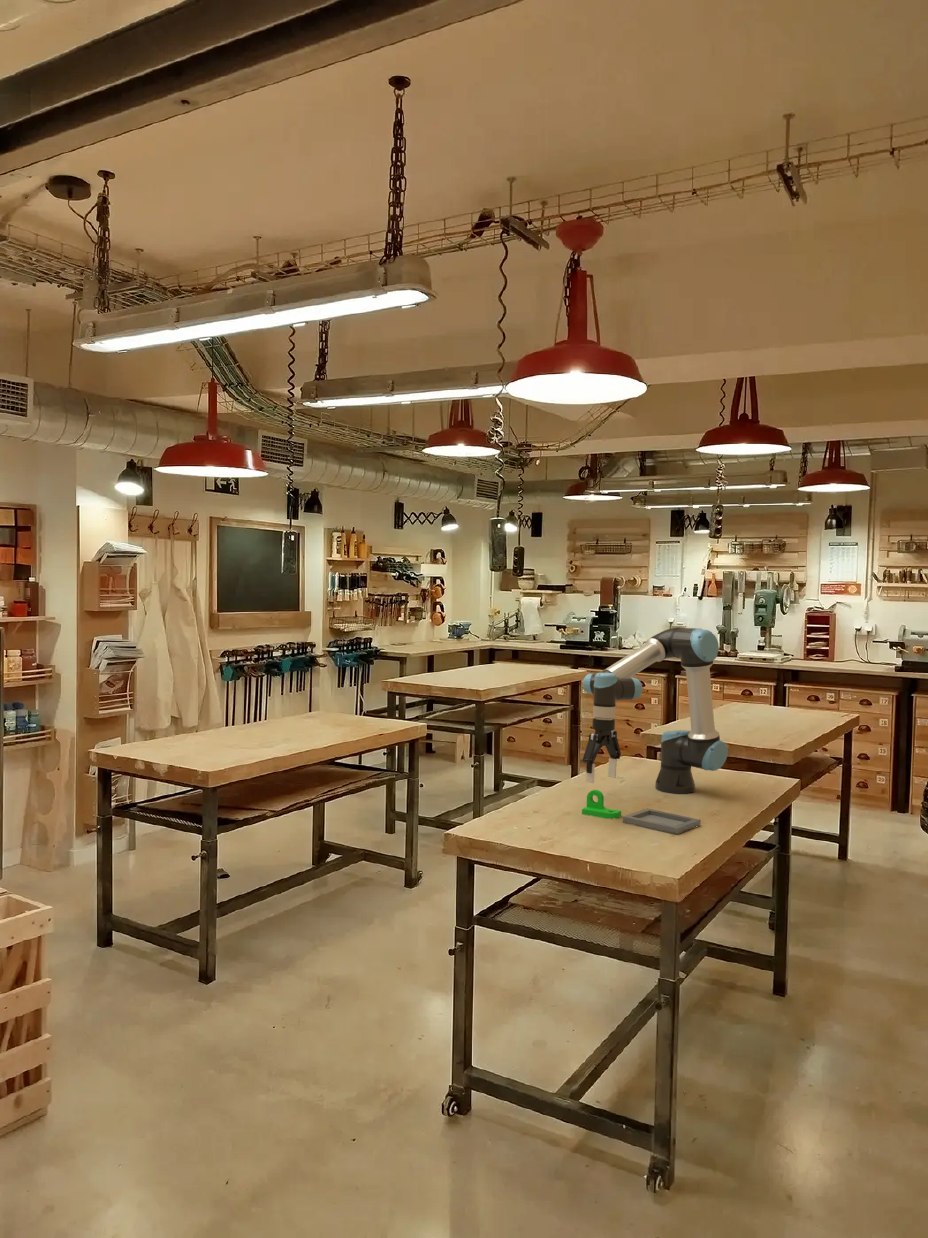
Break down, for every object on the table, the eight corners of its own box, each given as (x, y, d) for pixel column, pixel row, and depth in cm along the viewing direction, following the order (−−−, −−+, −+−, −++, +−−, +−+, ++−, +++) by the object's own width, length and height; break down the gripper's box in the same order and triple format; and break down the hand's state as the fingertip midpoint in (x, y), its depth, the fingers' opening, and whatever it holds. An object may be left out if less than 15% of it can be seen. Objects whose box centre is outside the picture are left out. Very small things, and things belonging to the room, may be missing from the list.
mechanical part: (581, 814, 302) (582, 791, 302) (588, 811, 307) (589, 788, 307) (614, 820, 296) (615, 796, 295) (621, 816, 301) (621, 793, 301)
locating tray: (647, 814, 304) (647, 808, 304) (700, 825, 291) (700, 819, 291) (622, 822, 292) (622, 816, 292) (676, 835, 279) (677, 828, 279)
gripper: (614, 714, 311) (611, 773, 312) (573, 719, 293) (571, 783, 293) (632, 716, 306) (629, 777, 307) (592, 722, 288) (590, 786, 288)
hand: (601, 780), depth 300 cm, fingers open, 13 cm apart
